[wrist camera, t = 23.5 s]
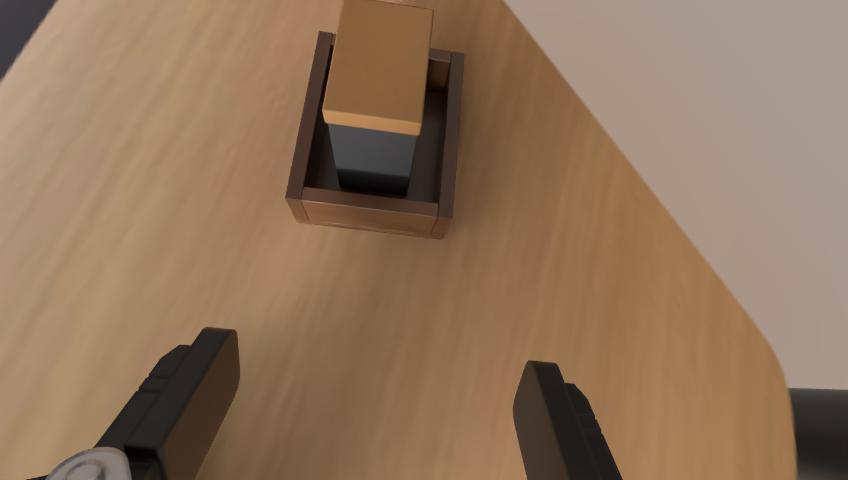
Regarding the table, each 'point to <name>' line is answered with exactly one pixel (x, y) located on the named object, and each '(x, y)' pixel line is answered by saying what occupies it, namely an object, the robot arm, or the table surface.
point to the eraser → (377, 93)
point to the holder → (431, 169)
